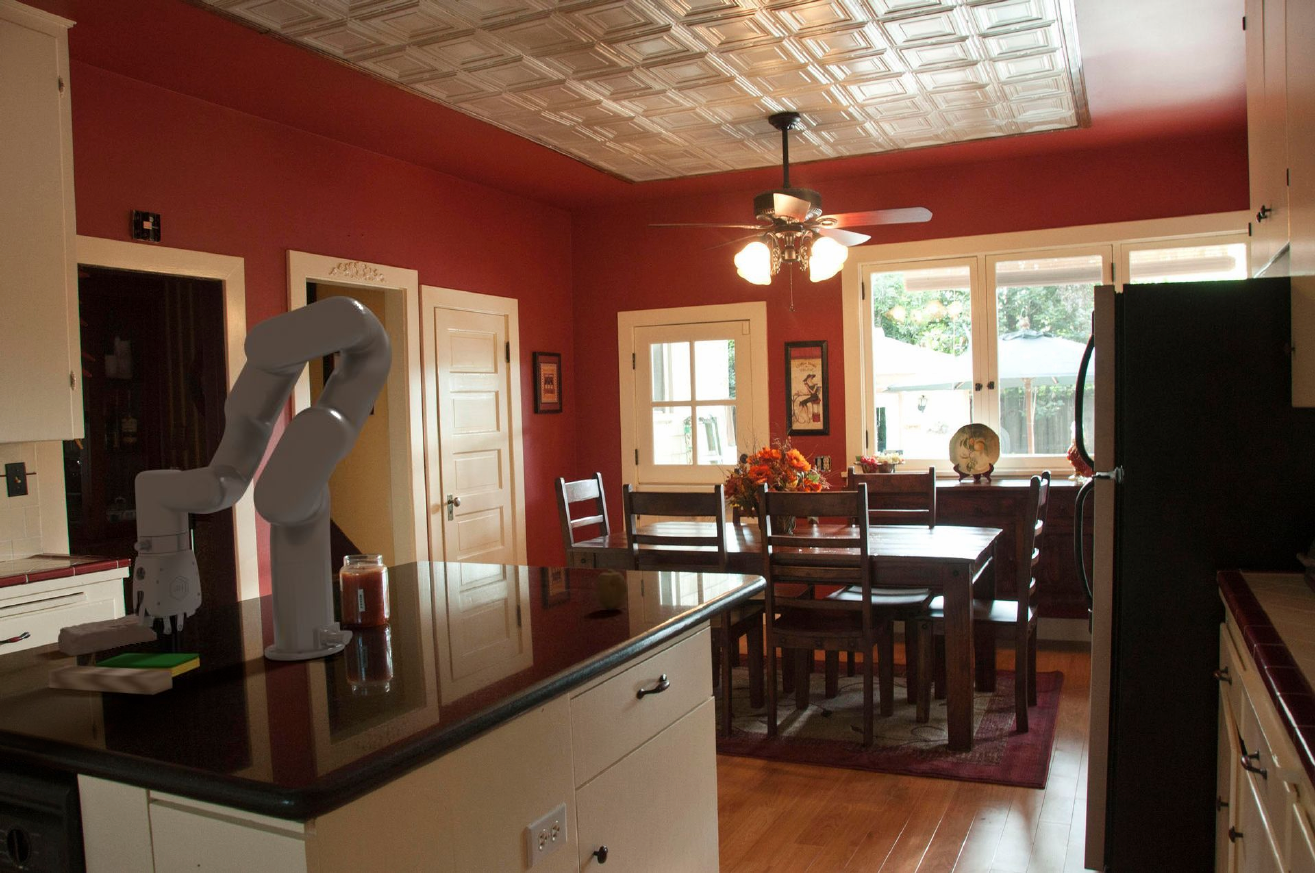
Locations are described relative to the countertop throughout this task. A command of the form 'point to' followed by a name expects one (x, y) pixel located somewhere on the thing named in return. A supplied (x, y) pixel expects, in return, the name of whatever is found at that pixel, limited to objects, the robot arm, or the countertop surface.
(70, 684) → the batten
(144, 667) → the dish sponge
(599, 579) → the fruit
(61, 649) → the brick
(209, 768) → the countertop surface
